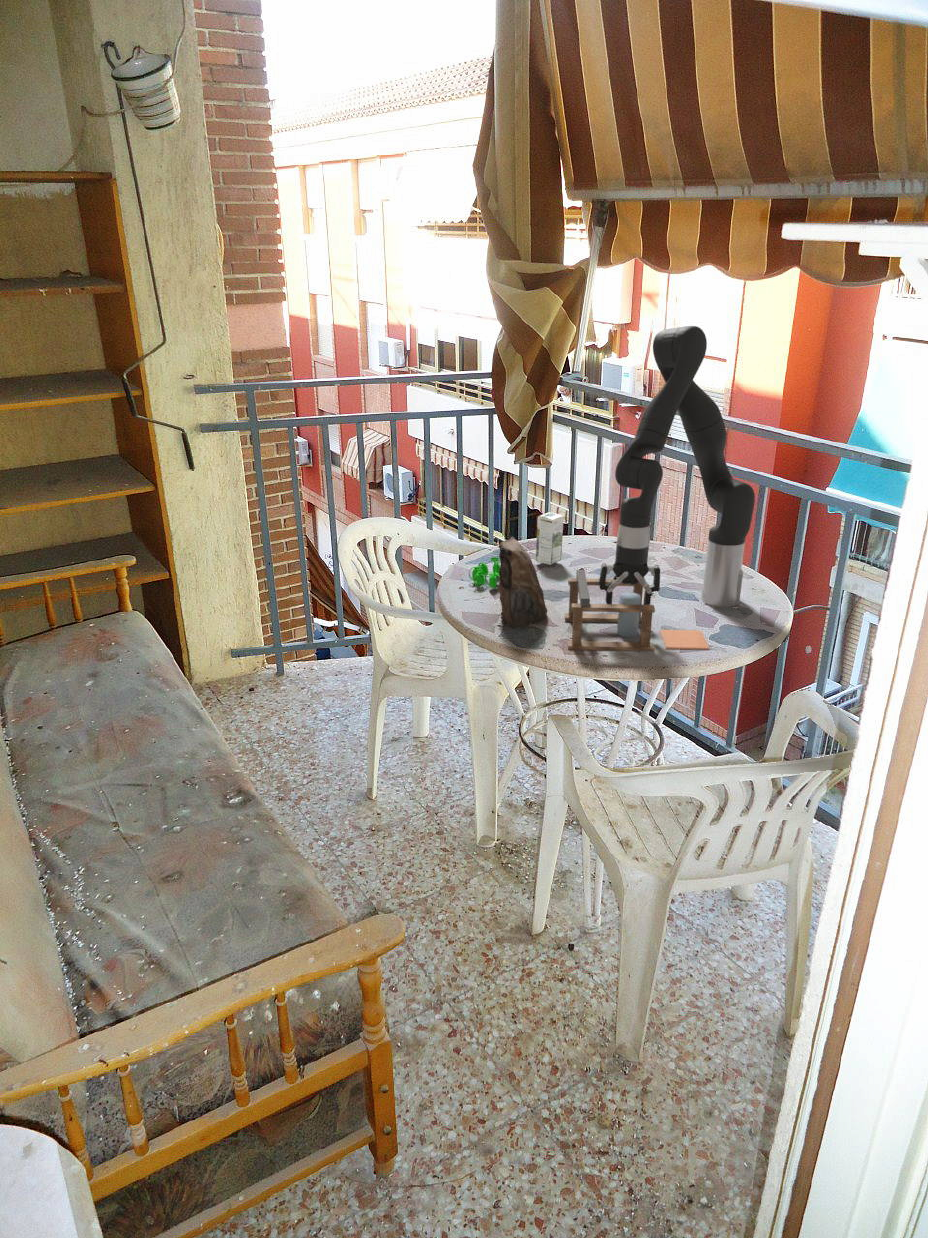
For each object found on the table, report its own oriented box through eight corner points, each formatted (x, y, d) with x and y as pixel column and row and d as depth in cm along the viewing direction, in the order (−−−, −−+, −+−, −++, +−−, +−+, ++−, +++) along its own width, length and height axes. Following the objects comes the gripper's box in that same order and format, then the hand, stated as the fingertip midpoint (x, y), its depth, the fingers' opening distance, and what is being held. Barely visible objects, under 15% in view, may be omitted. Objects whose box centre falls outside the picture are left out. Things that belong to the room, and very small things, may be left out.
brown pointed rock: (513, 631, 212) (514, 554, 204) (480, 615, 221) (480, 542, 213) (549, 618, 219) (552, 544, 211) (517, 604, 228) (518, 532, 220)
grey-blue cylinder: (636, 629, 212) (639, 592, 208) (638, 638, 207) (642, 600, 203) (616, 629, 212) (618, 592, 208) (618, 637, 208) (620, 599, 204)
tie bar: (584, 577, 215) (584, 570, 214) (589, 606, 197) (589, 598, 196) (576, 577, 215) (576, 569, 214) (580, 606, 197) (581, 598, 196)
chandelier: (522, 573, 250) (523, 551, 248) (518, 591, 237) (519, 568, 234) (471, 571, 252) (471, 549, 250) (465, 589, 239) (465, 566, 236)
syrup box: (546, 556, 263) (547, 511, 257) (562, 560, 260) (563, 514, 254) (535, 561, 259) (536, 515, 253) (551, 565, 256) (553, 519, 250)
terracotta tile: (700, 633, 209) (701, 630, 209) (708, 651, 200) (709, 647, 200) (659, 632, 210) (659, 629, 210) (665, 650, 201) (666, 647, 201)
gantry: (642, 618, 219) (646, 578, 214) (653, 651, 200) (657, 609, 196) (564, 616, 220) (566, 577, 216) (568, 649, 202) (570, 607, 197)
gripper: (661, 538, 204) (655, 601, 210) (601, 536, 205) (596, 599, 211) (665, 548, 197) (659, 612, 203) (603, 546, 198) (598, 610, 204)
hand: (627, 605), depth 207 cm, fingers open, 8 cm apart
